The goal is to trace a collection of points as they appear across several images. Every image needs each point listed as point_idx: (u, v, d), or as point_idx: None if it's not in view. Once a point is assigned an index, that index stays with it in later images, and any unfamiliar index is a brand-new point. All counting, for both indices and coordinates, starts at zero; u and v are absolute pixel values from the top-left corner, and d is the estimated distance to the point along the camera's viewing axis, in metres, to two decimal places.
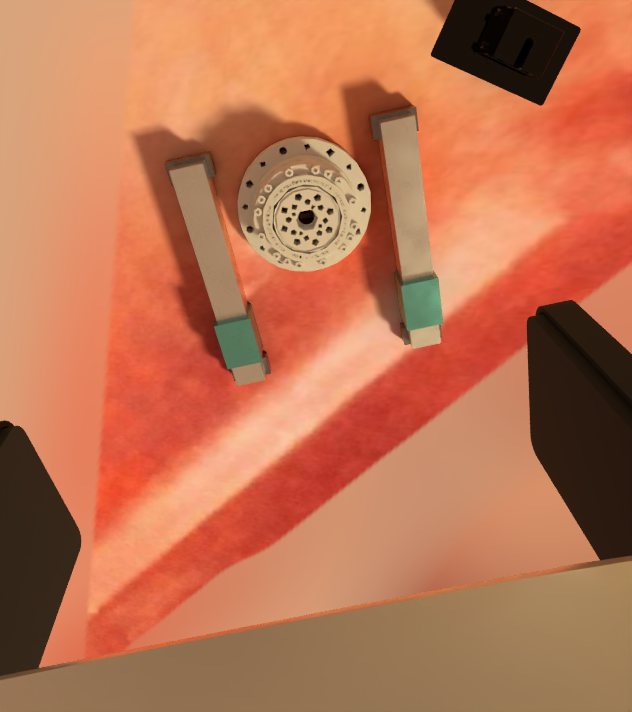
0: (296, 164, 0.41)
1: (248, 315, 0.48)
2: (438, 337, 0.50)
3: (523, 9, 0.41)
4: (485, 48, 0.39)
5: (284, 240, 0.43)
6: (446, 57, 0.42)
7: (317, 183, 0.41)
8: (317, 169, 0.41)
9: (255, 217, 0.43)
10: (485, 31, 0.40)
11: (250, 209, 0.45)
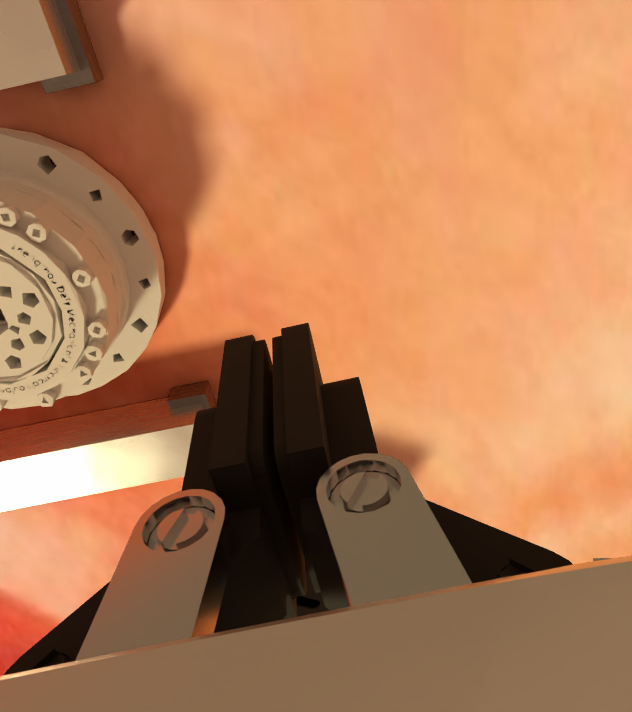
0: (103, 287, 0.19)
1: None
2: None
3: None
4: None
5: None
6: None
7: (69, 336, 0.19)
8: (99, 333, 0.20)
9: None
10: None
11: None
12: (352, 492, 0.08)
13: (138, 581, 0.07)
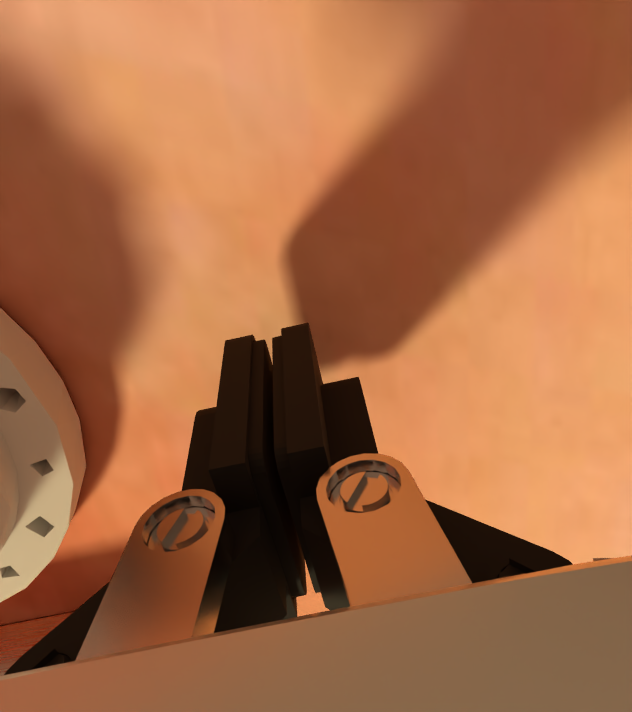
0: None
1: None
2: None
3: None
4: None
5: None
6: None
7: None
8: None
9: None
10: None
11: None
12: (352, 492, 0.08)
13: (138, 581, 0.07)
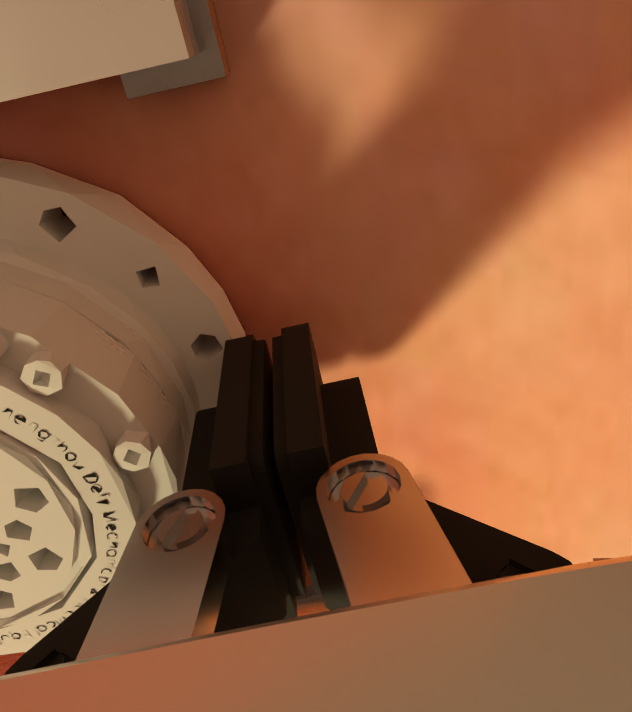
0: (170, 461, 0.10)
1: None
2: None
3: None
4: None
5: None
6: None
7: (106, 553, 0.10)
8: None
9: None
10: None
11: None
12: (352, 492, 0.08)
13: (138, 582, 0.07)
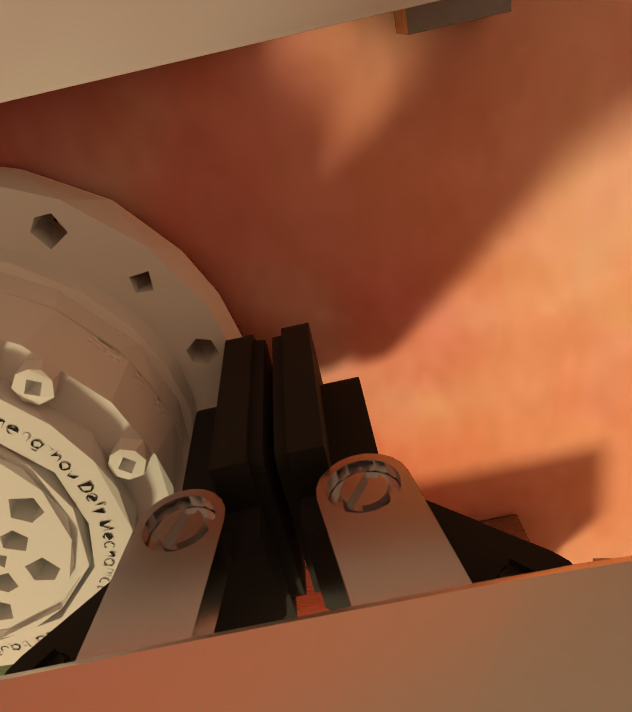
0: (167, 468, 0.10)
1: None
2: None
3: None
4: None
5: None
6: None
7: (103, 562, 0.10)
8: None
9: None
10: None
11: None
12: (352, 492, 0.08)
13: (138, 581, 0.07)
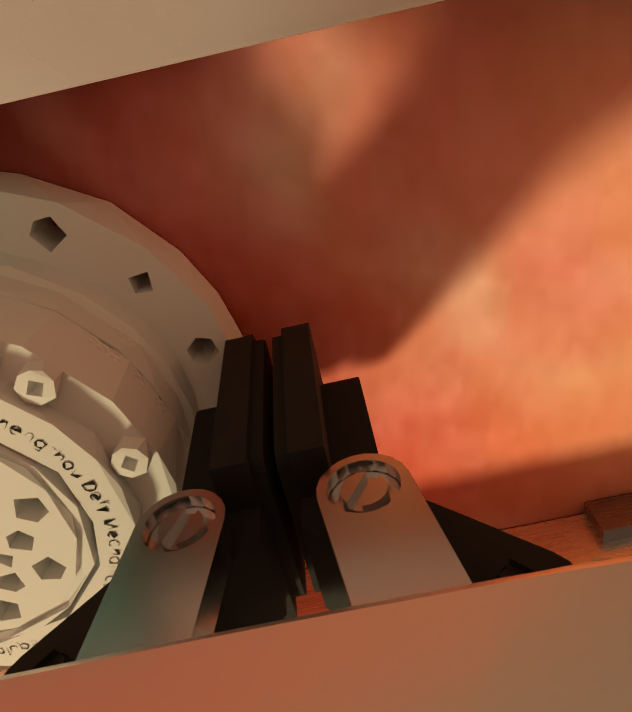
0: (169, 466, 0.10)
1: None
2: None
3: None
4: None
5: None
6: None
7: (109, 560, 0.10)
8: None
9: None
10: None
11: None
12: (352, 492, 0.08)
13: (138, 581, 0.07)
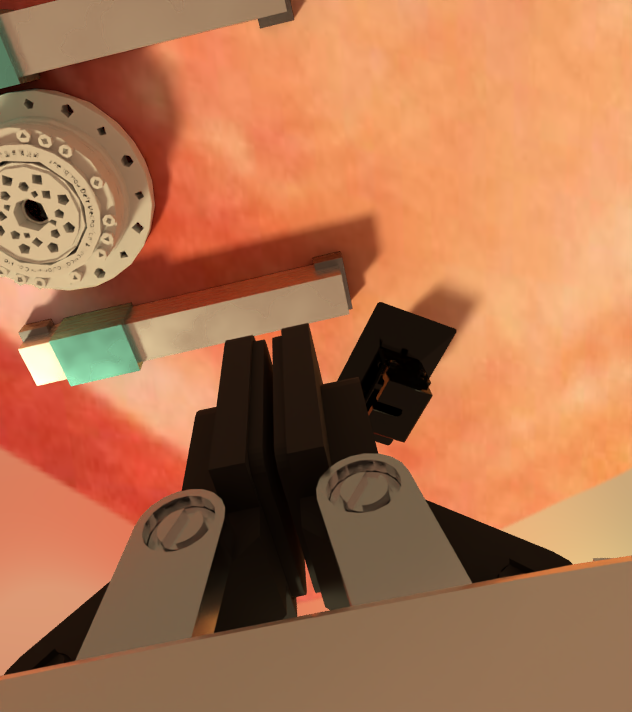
0: (111, 190, 0.28)
1: (23, 79, 0.27)
2: (45, 381, 0.34)
3: None
4: (391, 366, 0.35)
5: None
6: (375, 318, 0.36)
7: (90, 225, 0.28)
8: (110, 223, 0.29)
9: (13, 130, 0.27)
10: (401, 359, 0.37)
11: (27, 113, 0.29)
12: (352, 492, 0.08)
13: (138, 581, 0.07)
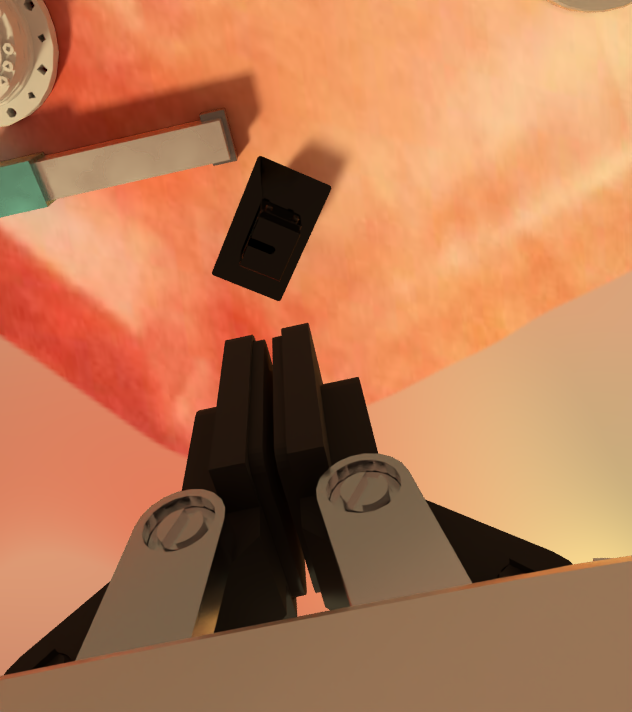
0: (10, 22, 0.33)
1: None
2: None
3: (296, 243, 0.44)
4: (266, 209, 0.40)
5: None
6: (256, 171, 0.41)
7: None
8: (9, 51, 0.33)
9: None
10: (279, 209, 0.42)
11: None
12: (352, 492, 0.08)
13: (138, 581, 0.07)
